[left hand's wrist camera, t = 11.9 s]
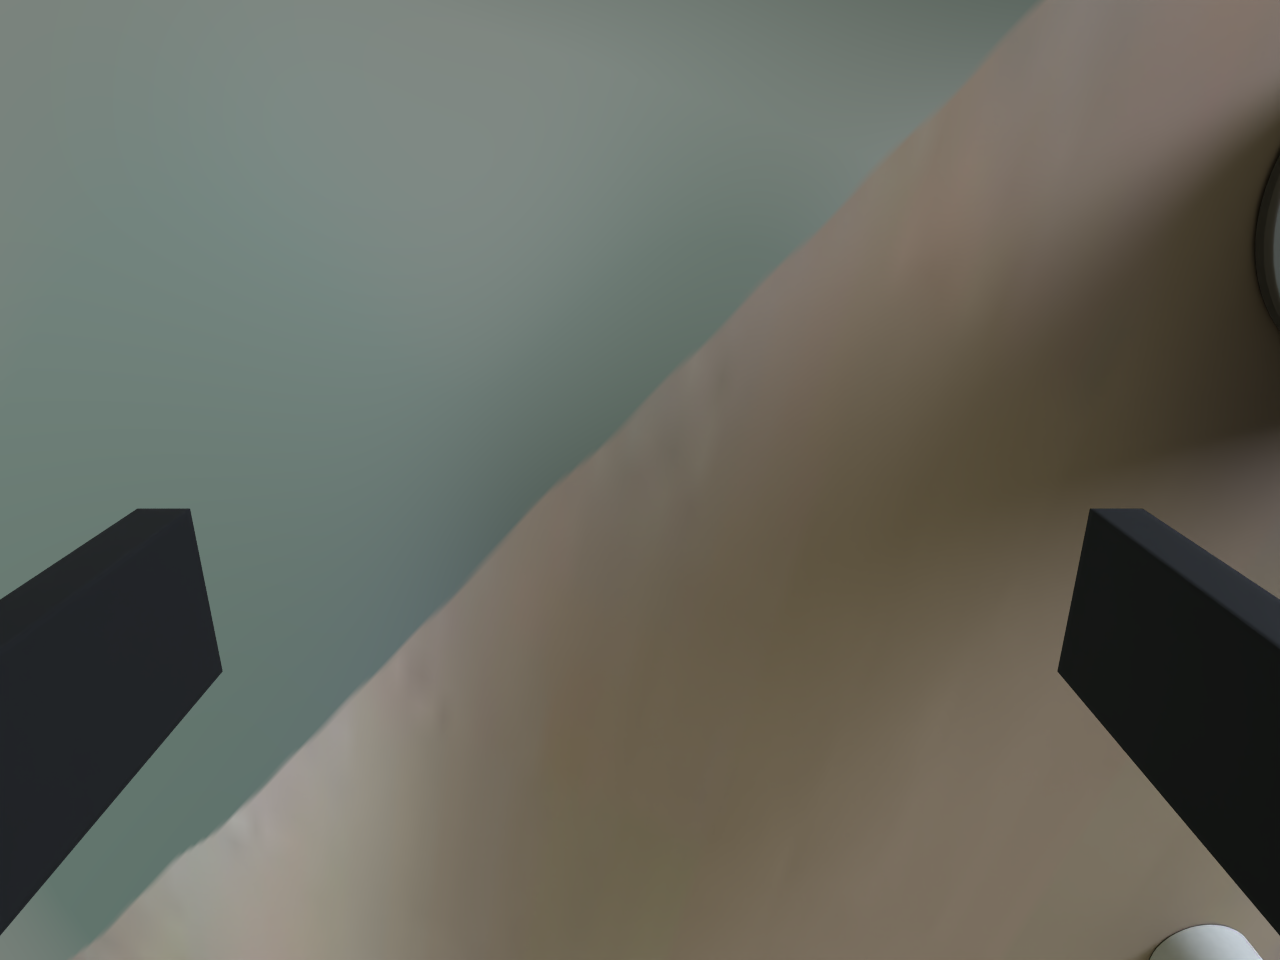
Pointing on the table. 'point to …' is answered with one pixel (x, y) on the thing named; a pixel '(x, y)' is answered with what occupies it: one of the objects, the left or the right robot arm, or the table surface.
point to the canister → (1206, 945)
